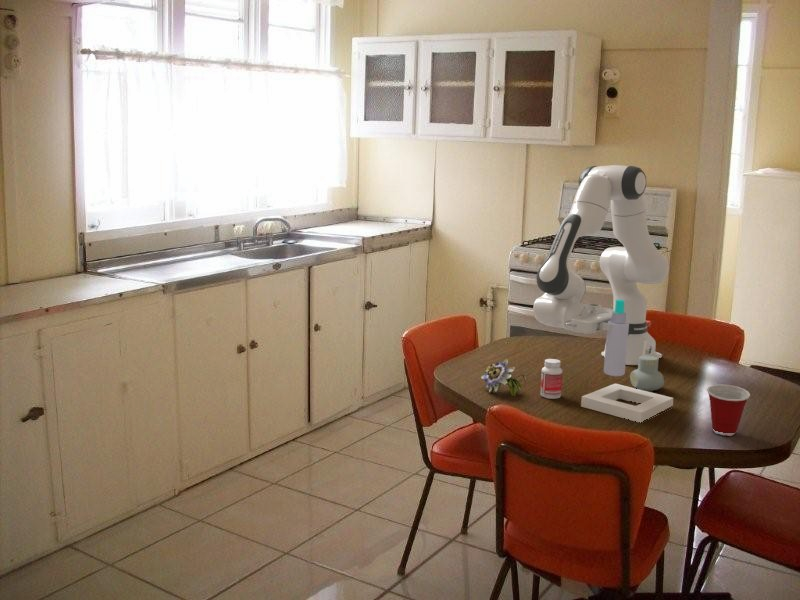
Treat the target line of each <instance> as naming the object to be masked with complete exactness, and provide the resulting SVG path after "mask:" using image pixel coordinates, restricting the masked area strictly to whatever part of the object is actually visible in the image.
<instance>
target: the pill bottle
mask: <svg viewBox="0 0 800 600" xmlns="http://www.w3.org/2000/svg"><path fill="white" fill-rule="evenodd" d="M561 365H562V364H561V360H559V359H556V358H547V359H544V367H542V368H541V374H540V376H541V377H540V396H541V397H543V398H545V399H550V400H551V399H552V400H555V399H559V398H561V396H562V387H563V386H562V385H563V368H561Z"/></svg>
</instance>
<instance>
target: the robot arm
mask: <svg viewBox="0 0 800 600" xmlns="http://www.w3.org/2000/svg"><path fill="white" fill-rule="evenodd" d="M646 187H647V176H646V173H645V172H644V170H643V169H642V168H640V167H638V166H634V165H621V164H619V165H618V164H611V165H599V166H597V165H592V166H587V167H586V168H584V170H582V172H581V173H580V175H579V177H578V188H577V190H576V193H575V196H574V197H573V198H574V199H573V201H572V205H571V208H570V211H569V213H568V215H567V216H566V217H564V219H563V220H562V222H561V223H560V225H559V227H558V230H557V232H556V235H555V237H554V239H553V242H552V243H551V244H552V245H551V246H550V249H549V252H548V253H547V256H546V258H545V259H544V261H543V263H542V264H541V265H540V267H539V268H538V270H537V274H536V277H535V278H536V279H535V280H536V284H537V286H538V287H537V288H539V290H541V292H543V294H542V295H541V296H539V297H537V298H536V299H535V300H534V302H533V308H532V312H533V315H534V318H535V320H537V321H538V322H539V323H541V324H543V325H545V326H548V327H553V328H557V329H562V328H563V329H565V330H567V331H569V332H575V333H578V334H579V333H580V334H585V335H591V334H596V333H599V332H603V331H607V330H610V324H609V323H608V321H611V319H612V312H613V311H615V304H616V300H624V301H625V303H624V312H626V322H628V323H629V330H628V342H627V353H626V364H625V366H626V365H627V366H638V362H639V357H640V356H644V355H647V356H654V357H657V358H658V360H660V359H661V358H662V357H663V353H660V352H657V351H656V349H657V348H656V345H657V344H656V343H657V342H656V340H655V338H654V337H653V336H651V334H650V333H649V332H648V327H651V325H652V320H646V319H647V318H646V317H647V309H648V308H647V307H648V301H647V300H648V299H647V297H646V296H645V295H644V294H643V293H642V292H641V291H640V288H639V286H638V284H642V285H643V284H644V285H655V284H656V285H658V284H661V283H662V282H664V280H666V278H667V276H668V274H669V272H670V265H669V262H668V259H667V258H666V257H665V256H664V255H663V254H662V253H661V252H660V251H659V250H658V248H657V247H656V245H655V244H654V242H653V240H652V238H651V235H650V232H649V228H648V221H647V213H646V203H645V198H644V192H645V190H646ZM609 206H610V207H609ZM609 208H610V212H611V223H612V231H613V235H614V237H615V238H616V240H618V241H619V242H620V244H622V245H623V246H614V247H613V246H612V247H607V248H605V249H604V250H603V252H601V255H600V257H599V267H600V270H601V272H602V273H603V274H604V275H605V277H606V278H607V280H608V282H609V285H610V287H611V292H612V296H613V297H612V298H613V299H612V301H613V303H612V304H613V305H612V308H609V307H602V305H601V304H594V303H593V304H592V303H591V304H588V303H583V302H582V300H583V299H584V296H585V294H586V290H587V286H586V282H585V280H584V279H583V278H582V277H581V276H580V275H578V273H576V272H574V271H573V270H571V269H570V268H569V264H568V262H569V259H570V256H571V255H572V251H573V249H574V246H575V243H576V242H577V240H578V239H579V238H580V237H589V236H594V235H595V234H597V233H599V232H600V231H601V230H602V228H603V226H604V225H605V221H606V218H607V215H608V211H609ZM637 283H638V284H637ZM605 349H606V344H605V345H604V350H603V351H601V353H600V355H601V356H602V357H604V358H605ZM659 358H660V359H659Z"/></svg>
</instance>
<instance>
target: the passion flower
mask: <svg viewBox="0 0 800 600" xmlns="http://www.w3.org/2000/svg"><path fill="white" fill-rule="evenodd" d="M508 365H509V359H508V358H507V359H505V360H503V361H500V362H495V363H493V364H492V363H491V364H489V365H488V366H487V368H486V370H485V371H484V374H483V375H480V379H482V380H484V382H485V383H486V385H485V389H488V391H489V392H491V393H493V392H495V393H497V392H499V390H501V389H500V388H501V385H503V386H505V385H508V388H509V392H510V394H511V396H512V397H514V398H515V397H516V392H517V390H518V393H519V395H520V394H521V391H522V384H521V383H520V381H519V380H517V378H518V377H521V376H522V377H523V379H524V382H525V383H526V382H527V377H526V375H525V373H524V374H519V375H515V376H512V374H511V373H512V372H514V371H515V370H516V367H508Z"/></svg>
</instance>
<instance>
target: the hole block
mask: <svg viewBox="0 0 800 600" xmlns="http://www.w3.org/2000/svg"><path fill="white" fill-rule="evenodd" d="M618 400H623V401H626V402H630V401H632V403H634V402H636V403H635V404H637V405H634V404H630V403H626V402H622V401H618ZM638 403H641V404H638ZM673 405H674V397H672V396H671V397H670V396H666V395H664V394H661V393H659V394H658V393H656V392H655V393H654V392H653V391H644V390H640V389H636V388H635V387H631V386H626V385H622V384H619V383H613V384H610V385H608V386H605V387H602V388H600V389H597V390H595V391H593V392H590V393H587V394H584V395H582V396H581V401H580V407H582V408H585V409H589V410H593V411H597V412H600V413H603V414H608V415H611V416H614V417H619V418H621V419H624V418H625V420H628V419H629V421H632V422H635V421H636V423H639V422H640V423H639V424H641V422H642V423H644V422H645V421H644V420H646V419H648V420H650V419H651V418H650V417H652V416H654V415H656V414H657V413H659V412H661V411H664V410H665V409H667V408H669V407H671V406H673ZM673 407H674V406H673ZM656 416H657V415H656ZM654 417H655V416H654ZM649 418H650V419H649ZM652 418H653V417H652ZM643 421H644V422H643ZM646 421H647V420H646Z"/></svg>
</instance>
